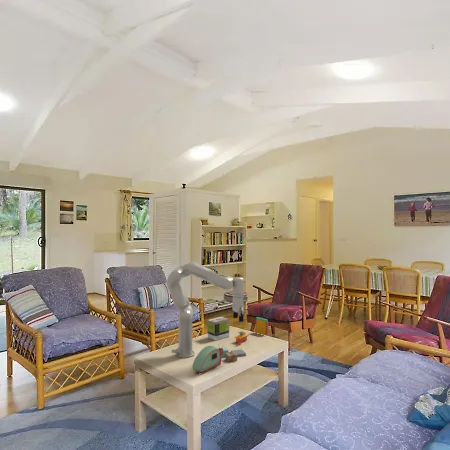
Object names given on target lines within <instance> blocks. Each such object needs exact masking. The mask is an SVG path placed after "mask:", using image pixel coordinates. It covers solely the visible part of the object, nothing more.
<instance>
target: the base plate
mask: <svg viewBox="0 0 450 450" xmlns="http://www.w3.org/2000/svg"><path fill="white" fill-rule="evenodd" d="M230 352H235V353H236V354H237V358H239V357H246V356H247V353H246V352H245V351H244V350H243V348H242V349H234V350H230Z"/></svg>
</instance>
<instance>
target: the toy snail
mask: <svg viewBox="0 0 450 450" xmlns="http://www.w3.org/2000/svg"><path fill="white" fill-rule="evenodd" d="M217 346H220V344H218V345H217ZM222 348H224V347H223V346H222V347H216V346H214V345H207V346H206V347H203V348H202V349H201V351H199V352H198V353H199V354H198V353H197V355H196V356H195V358H194V360H193V363H192V369H193V370H194V371H195V373H194V374H195V375H196V374H197V375H200V374H199V373H202V374H204V373H206V371H207V372H208V371H211V370H213V369H215V368H217V367H219V366H220V365H221V364H222V359H223V357H222V353H223V349H222ZM203 372H204V373H203Z"/></svg>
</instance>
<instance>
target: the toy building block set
mask: <svg viewBox="0 0 450 450" xmlns="http://www.w3.org/2000/svg"><path fill="white" fill-rule="evenodd" d="M254 326H255V327H254V328H255V329H254V332H255V333H256V334H260V335H263V336H264V335H265V336H269V335H270V334H269V332H270V331H269V320H268V319H267V318H263V317H259V316H258V317H257V316H256V317H255V325H254ZM237 333H238V335H235V336H234V338H235V343H237V344H238V346H241V344H242V343H243V342H246V341H248V336H249V334H246V332H244V331H239V332H237Z"/></svg>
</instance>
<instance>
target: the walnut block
mask: <svg viewBox="0 0 450 450" xmlns="http://www.w3.org/2000/svg"><path fill="white" fill-rule="evenodd" d="M225 360H226V361H227V362H228V363H231V362H238V357H237V354H236V353H235V352H231V351H228V352H227V353H226V357H225Z"/></svg>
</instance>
